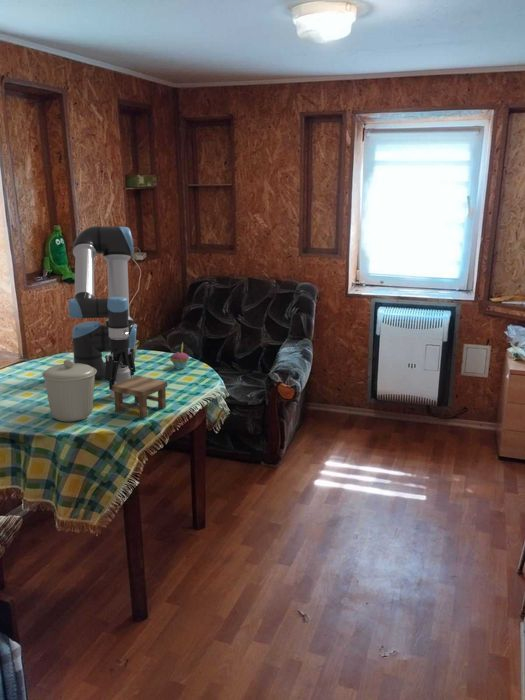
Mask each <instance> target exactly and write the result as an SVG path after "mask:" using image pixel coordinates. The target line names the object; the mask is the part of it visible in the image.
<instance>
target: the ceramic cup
mask: <svg viewBox="0 0 525 700" xmlns="http://www.w3.org/2000/svg"><path fill="white" fill-rule="evenodd" d="M139 346H140V341H139V339H138V340H137V339H136V341H135V348H134V349H133V350H134V351H133V357H134V362H135V361H136V352H137V348H138V347H139ZM120 364H122V362H120Z"/></svg>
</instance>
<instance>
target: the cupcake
mask: <svg viewBox="0 0 525 700" xmlns="http://www.w3.org/2000/svg"><path fill="white" fill-rule="evenodd" d="M183 349H184V342H182V343H181V348H180V352H179V351H177V352H175V353H173V354H171V356H170V360H169V361H171V362H172V364H173V367H174V369H176V368H183V369H185V368H186V365H187V363H188V361H189V360H190V356H189V355H188V354H187V353H185V352H183ZM184 367H185V368H184Z"/></svg>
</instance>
